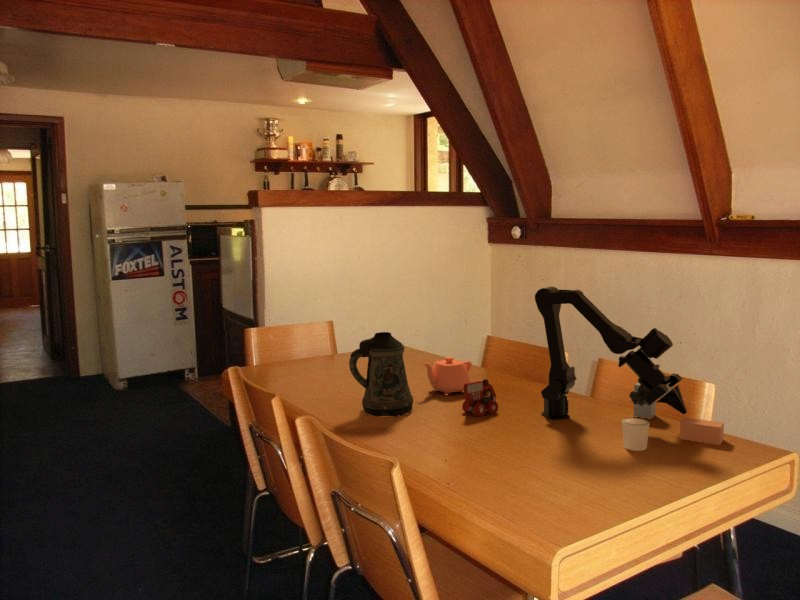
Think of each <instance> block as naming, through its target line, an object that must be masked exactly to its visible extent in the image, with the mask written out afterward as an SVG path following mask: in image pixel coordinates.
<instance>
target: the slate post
mask: <svg viewBox="0 0 800 600" xmlns="http://www.w3.org/2000/svg"><path fill="white" fill-rule="evenodd" d="M633 387H634V389H633V391H637V389H638V388H639V387H640V383H639V382H638V381H637V382H636V383H634V386H633ZM656 402H657V400H656V401H655V402H653V403H652V404H651V405H650V406H648V405H647V403H646V404H644V405H643V406H640V405H638V404H634V403H633V417H634V416H637V417H644V418H652V417H653V416H654V415H655V416H656V412H657V411H656V408H657V407H656V406H657V405H656V404H657V403H656ZM655 416H654V417H655ZM654 417H653V418H654ZM653 418H652V419H653Z"/></svg>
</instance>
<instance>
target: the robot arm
mask: <svg viewBox="0 0 800 600" xmlns="http://www.w3.org/2000/svg"><path fill="white" fill-rule="evenodd" d="M534 301H535V304H536V307H537V310H538V312H539V313H540V315H541V316H542V318H543V324H544V328H545V329H544V330H545V336H546V341H547V342H546V343H547V350H548V354H549V361H550V368H549V372H548V384H547V386H545V388H543V389H542V390H541V391H540V393H541V396H542V397H541V398H542V399H543V411H541V415H542V416H544V417H546V418H548V419H549V420H558V419H568V418H570V415H569V400H568V394H569V392H570V390H571V389H573V388H574V386H575V384H576V381H577V377H576V374H575V373H576V371H575V370H576V369H575V366H571V367H570V365H569V363H568V362H567V358H566V357H567V356H566V351H565V346H564V339H563V333H562V325H561V319H560V312H561V308H562V305H565V304H567V305H568V304H569V305H572V306H573V307H574V308H575V309H576V310H577V312H579V313H580V314H581V315H582V316H583V318H585V320H587V321H588V323H589V324H590V325H591V326H593V328H595V330H596V331H597V332H598V333H599V334H600V337H601V338H602V341H603V343H604V344H605V345H606V347H607V348H608V349H609V351H610V352H611V353H613V354H615V355H621V354H624V353H626V352H628V351H629V352H628V353H627V354H626V355H624V356H623V355H621V356H618V367H619V368H621V367H623V366H625V365H627V366H628V367H629V369H630V370H631V372H633V373H634V374H635V375H636V376H637V378H638V379H637V383H638V382H639V383H640V387H639V388H638V389H637V391H634V390H631V392H630V393H629V396H628V397H629V398H630V399H631V402H632V403H633V405H634V404H638V405H640V406H643V405H644V404H646V403H647V405H648V406H650V405H651V404H652V403H653V402H655V401H656V404H657V403H658V404H659V403H660V404H661V403H662V404H663V403H664V404H666V405H668V406H670V407H672V408H673V409H674V410H675V411H678V412H679V413H681V414H682V415H685V414H687V413H688V409H687V408H686V404H685V401H684V398H683V395H682V392H681V389H680V384H679V383H680V382H681V381H682V380H683V378H682V377H681V376H680V375H679V373H672V374H670V375H666V374H664V372H662V370H661V369H660V367H661V366H660V365H659V364H658V363H657V364H655V363H654V362H653V360H651V359H652V358H653V359H655V360H657V359H659V358H660V357H661V356H662V355H663V354H665V353H666V352H667V351H669V350H670V349H671V348H672V347H673V346H674V344H673V341H672V340H671V338H669V336H668V335H667V334H665V333H664V332H662V331H661V330H658V329H657V328H656V327H654V328H652V329H651V330H650V331H648V333H647V334H646V335H645V336H644V337H637V336H633V335H632V334H631V333H630V332H629V331H627V330H626V329H624V328H623V327H621V326H620V325H618V324H616V323H614V322H612V321H611V320H610V319H609V318H608V317H607V316H606V315H605V314H604V313H603V312H602V311H601V310H600V309H599V308H598V307H597V306H596V305H595V304H594V303H593V302H592V301H591V300H590V299H589V298H588V297H587V296H586V295H585V294H584V292H583V291H582V290H580V289H558V287H555V286H547V287H543V288H540V289H538V290H537V291H536V292H535V295H534ZM638 347H640V348H638ZM636 348H638V349H637V350H636V351H635V349H636Z"/></svg>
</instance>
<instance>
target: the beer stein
mask: <svg viewBox="0 0 800 600" xmlns="http://www.w3.org/2000/svg"><path fill="white" fill-rule="evenodd" d="M358 346H359V347H358V348H357V349H355V350H353V351H352V352H351V353H350V358H349V361H348V367H349V371H350V372H351V373H350V374H351V376H353V378H354V379H355V381H356V382H357V383H359V384H360V386H362V387H363V388H364V389H365V391H364V394H363V397H362V399H361V400H362V401H361V404H362V408H363V412H364V413H365V414H366V413H367V415H368V414H370V415H369V416H372V415H373V417H378V416H394V417H399V416H398V415H400V416H404V415H403V414H405V415H407V414H406V413H408V414H410V413H411V412H412V411H413V404H414V397H413V394H412V392H411V389H410V385H409V383H408V378H407V372H406V366H405V361H404V352H405V345H403V343H402V342H400V341H399V340H398V339H396V338H395V337H394V336H392V333H391V332H388V331H382V332H381V331H380V332H375V333H374V336H372V337H370V338H368V339H364V340H363V339H362V340H361V341H360V342H359V345H358ZM361 358H367V359H368V360H367V361H368V362H367V368H366V369H367V370H366V378H365V377H364V376H363V375H362V373H360V371H359V368H358V366H357V363H358V360H359V359H361ZM411 410H412V411H411ZM410 411H411V412H410ZM409 412H410V413H409Z"/></svg>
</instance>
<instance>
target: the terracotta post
mask: <svg viewBox="0 0 800 600" xmlns="http://www.w3.org/2000/svg"><path fill="white" fill-rule="evenodd" d="M724 426H725V423H724V422H721V421H715V420H714V421H713V420H709V419H701V418H692V417H685V416H684V417H683V418H682V419H681V420H680V421H679V440H683V439H684V440H685V441H689V440H690V441H691V442H695V441H697V442H696V443H702V442H704V443H703V444H708V445H709V444H710V445H715V446H721V444H722V443H723V441H724V434H725V433H724V430H725V429H724V428H725V427H724ZM684 440H683V441H684Z"/></svg>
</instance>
